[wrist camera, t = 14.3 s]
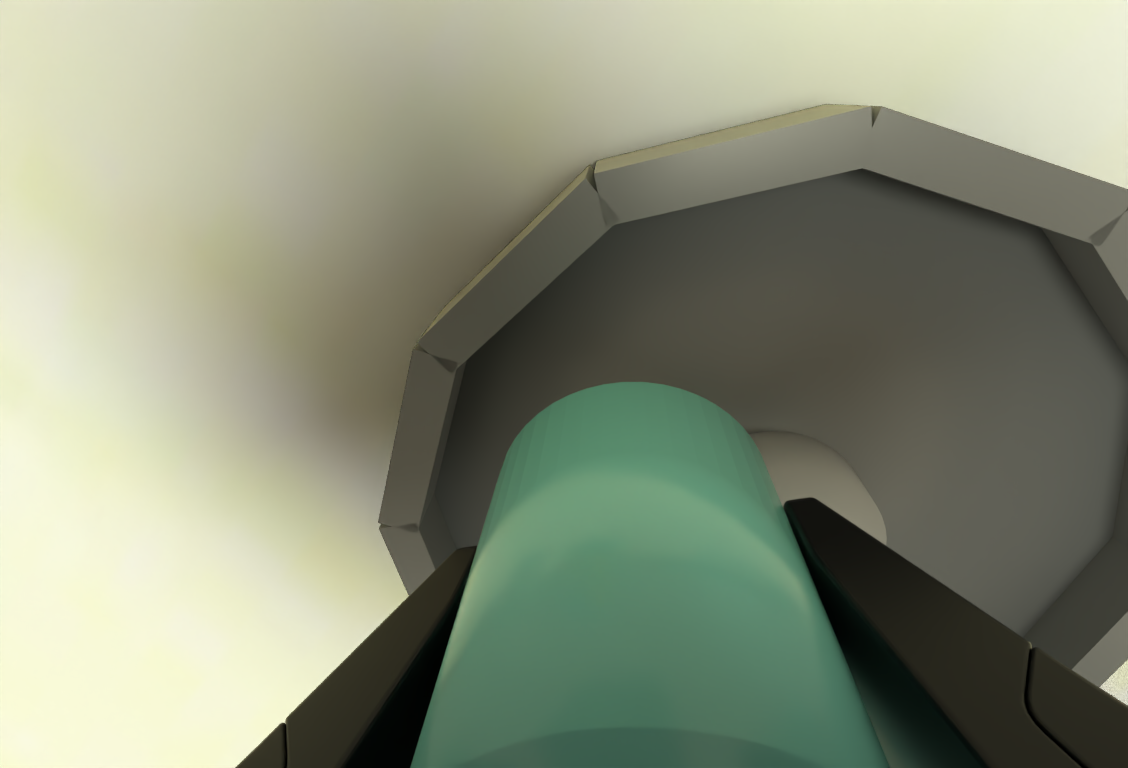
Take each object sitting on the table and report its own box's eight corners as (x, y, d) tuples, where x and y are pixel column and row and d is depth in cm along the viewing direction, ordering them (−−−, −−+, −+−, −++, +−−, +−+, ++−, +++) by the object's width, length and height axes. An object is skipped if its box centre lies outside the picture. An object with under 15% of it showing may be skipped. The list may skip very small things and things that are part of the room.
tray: (1210, 9, 12) (1353, -12, 9) (1095, 691, 19) (1160, 770, 17) (310, 231, 15) (256, 255, 13) (518, 743, 22) (507, 816, 20)
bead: (754, 356, 9) (942, 705, 4) (781, 588, 11) (935, 1038, 5) (464, 409, 9) (296, 761, 4) (535, 619, 11) (471, 1039, 6)
